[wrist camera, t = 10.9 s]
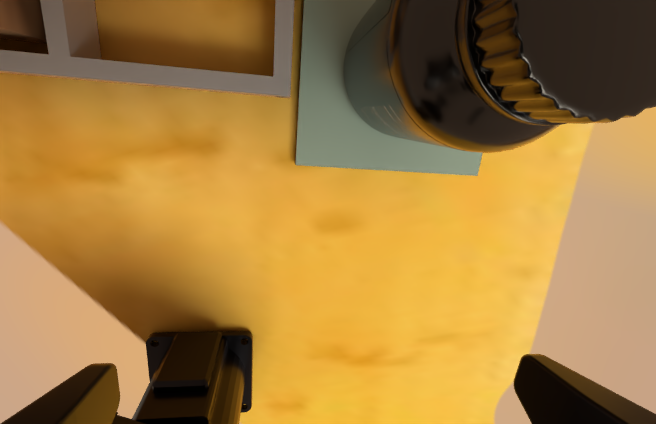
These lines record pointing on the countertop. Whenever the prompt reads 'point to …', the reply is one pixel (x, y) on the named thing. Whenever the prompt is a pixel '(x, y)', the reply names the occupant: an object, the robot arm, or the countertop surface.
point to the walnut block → (22, 20)
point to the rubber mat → (339, 115)
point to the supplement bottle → (499, 68)
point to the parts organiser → (85, 63)
